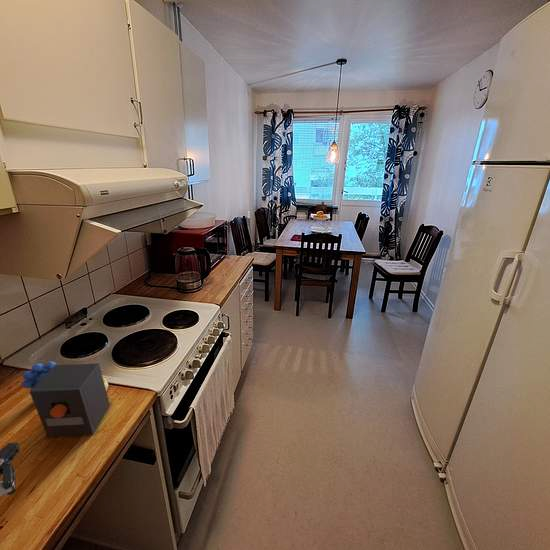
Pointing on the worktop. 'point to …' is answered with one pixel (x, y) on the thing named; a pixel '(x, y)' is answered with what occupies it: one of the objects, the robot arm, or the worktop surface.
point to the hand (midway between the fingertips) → (14, 445)
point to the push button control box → (71, 399)
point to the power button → (58, 411)
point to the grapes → (36, 374)
